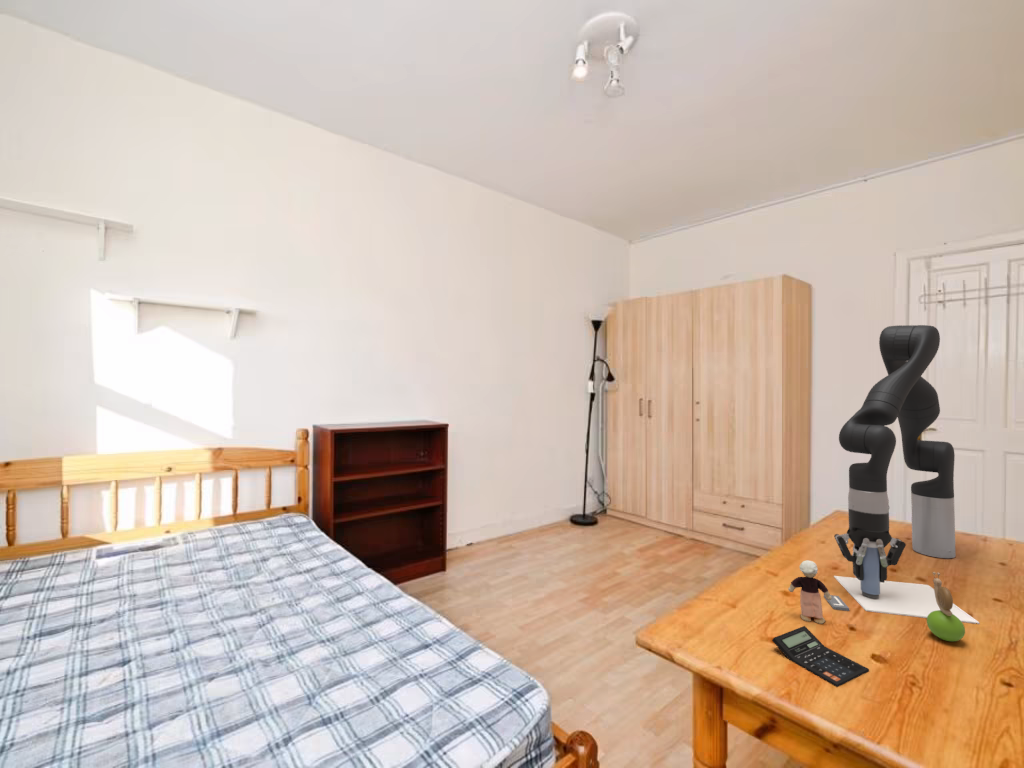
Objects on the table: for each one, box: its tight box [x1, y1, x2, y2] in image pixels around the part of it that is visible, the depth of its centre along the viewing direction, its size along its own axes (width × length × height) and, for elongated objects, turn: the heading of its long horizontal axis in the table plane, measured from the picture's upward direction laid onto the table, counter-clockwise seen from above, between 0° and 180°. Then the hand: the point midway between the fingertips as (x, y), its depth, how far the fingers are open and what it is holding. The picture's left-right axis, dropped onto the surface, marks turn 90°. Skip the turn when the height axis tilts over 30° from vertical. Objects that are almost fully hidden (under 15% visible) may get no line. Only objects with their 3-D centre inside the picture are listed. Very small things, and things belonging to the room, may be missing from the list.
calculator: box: [771, 625, 870, 688], centre depth 81 cm, size 9×12×3 cm
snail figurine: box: [926, 571, 966, 642], centre depth 87 cm, size 5×6×12 cm
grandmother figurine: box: [788, 559, 832, 624], centre depth 95 cm, size 8×4×13 cm, turn 71°
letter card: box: [823, 594, 850, 612], centre depth 101 cm, size 6×3×1 cm, turn 162°
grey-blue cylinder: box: [860, 541, 880, 599], centre depth 104 cm, size 4×4×13 cm
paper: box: [833, 575, 980, 625], centre depth 103 cm, size 18×20×1 cm
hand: (869, 579), depth 104 cm, fingers closed on grey-blue cylinder, 3 cm apart
